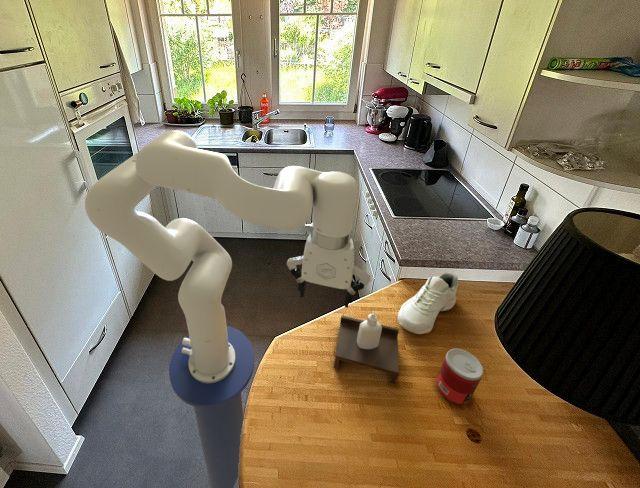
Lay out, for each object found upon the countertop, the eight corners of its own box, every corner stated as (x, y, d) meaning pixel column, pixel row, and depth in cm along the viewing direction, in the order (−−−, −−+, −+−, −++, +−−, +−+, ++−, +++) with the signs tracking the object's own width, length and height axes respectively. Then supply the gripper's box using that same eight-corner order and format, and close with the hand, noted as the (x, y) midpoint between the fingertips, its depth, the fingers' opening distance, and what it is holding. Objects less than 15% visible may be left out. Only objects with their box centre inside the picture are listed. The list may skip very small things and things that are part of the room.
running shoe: (385, 324, 100) (393, 293, 94) (428, 283, 116) (437, 253, 109) (418, 348, 93) (428, 315, 87) (458, 300, 109) (470, 270, 102)
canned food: (469, 411, 78) (483, 385, 73) (434, 394, 82) (444, 368, 76) (470, 384, 84) (483, 357, 79) (437, 369, 87) (447, 343, 82)
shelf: (333, 367, 88) (336, 350, 85) (339, 331, 98) (341, 315, 95) (395, 384, 84) (400, 368, 81) (394, 345, 94) (398, 328, 91)
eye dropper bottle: (358, 334, 92) (364, 304, 86) (378, 341, 89) (386, 311, 84) (355, 346, 88) (360, 316, 82) (376, 354, 86) (383, 324, 80)
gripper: (283, 237, 62) (282, 301, 70) (376, 254, 57) (364, 320, 65) (292, 216, 68) (290, 277, 76) (377, 230, 64) (366, 294, 72)
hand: (324, 297), depth 71 cm, fingers open, 9 cm apart
